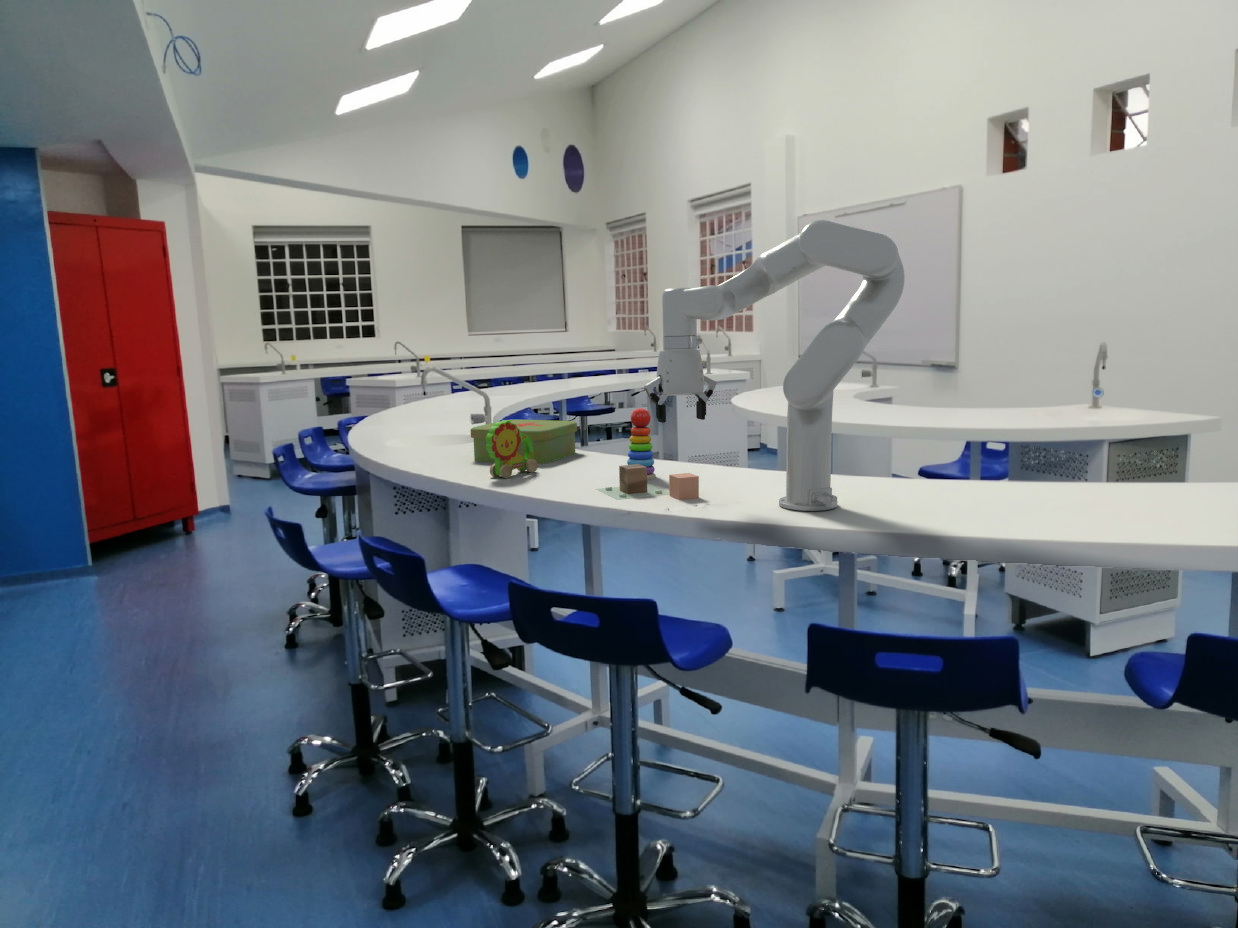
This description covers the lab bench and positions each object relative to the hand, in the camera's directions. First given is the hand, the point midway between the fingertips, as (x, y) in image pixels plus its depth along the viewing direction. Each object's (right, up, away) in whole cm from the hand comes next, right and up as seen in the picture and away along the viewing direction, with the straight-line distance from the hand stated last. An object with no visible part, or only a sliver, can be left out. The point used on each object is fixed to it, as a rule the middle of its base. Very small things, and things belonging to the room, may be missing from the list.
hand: (681, 420), depth 199 cm
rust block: (+1, -18, +2) cm, 19 cm away
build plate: (-11, -17, +10) cm, 23 cm away
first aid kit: (-43, -8, +74) cm, 86 cm away
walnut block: (-11, -16, +10) cm, 22 cm away
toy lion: (-43, -13, +41) cm, 61 cm away
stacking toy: (-9, -14, +29) cm, 33 cm away
